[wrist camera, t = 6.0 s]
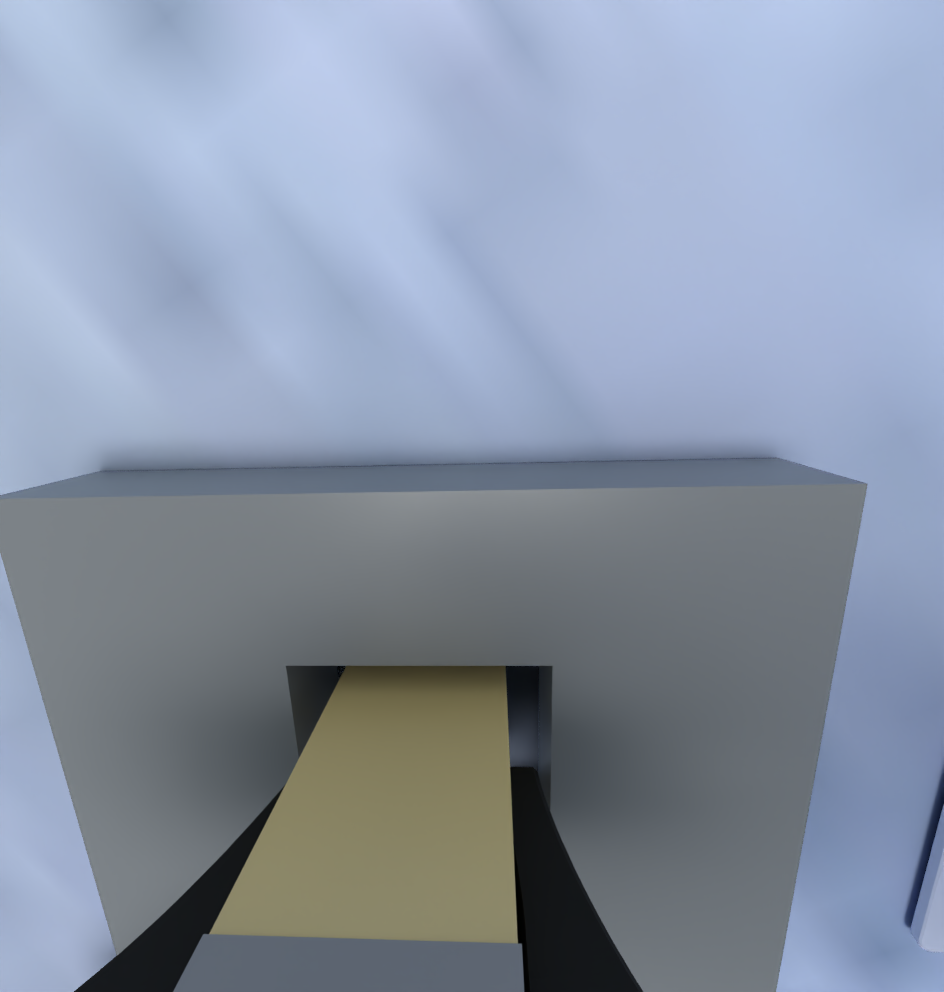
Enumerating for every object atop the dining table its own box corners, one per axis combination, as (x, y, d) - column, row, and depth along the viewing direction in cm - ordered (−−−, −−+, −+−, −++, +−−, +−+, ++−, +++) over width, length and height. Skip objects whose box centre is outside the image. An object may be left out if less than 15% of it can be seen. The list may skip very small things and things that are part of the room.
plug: (507, 659, 12) (526, 1029, 5) (509, 792, 13) (526, 1252, 6) (347, 658, 12) (161, 1013, 5) (360, 790, 13) (217, 1231, 6)
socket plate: (777, 457, 12) (867, 484, 9) (722, 881, 15) (774, 997, 13) (99, 471, 13) (-15, 499, 10) (188, 869, 16) (122, 975, 13)
